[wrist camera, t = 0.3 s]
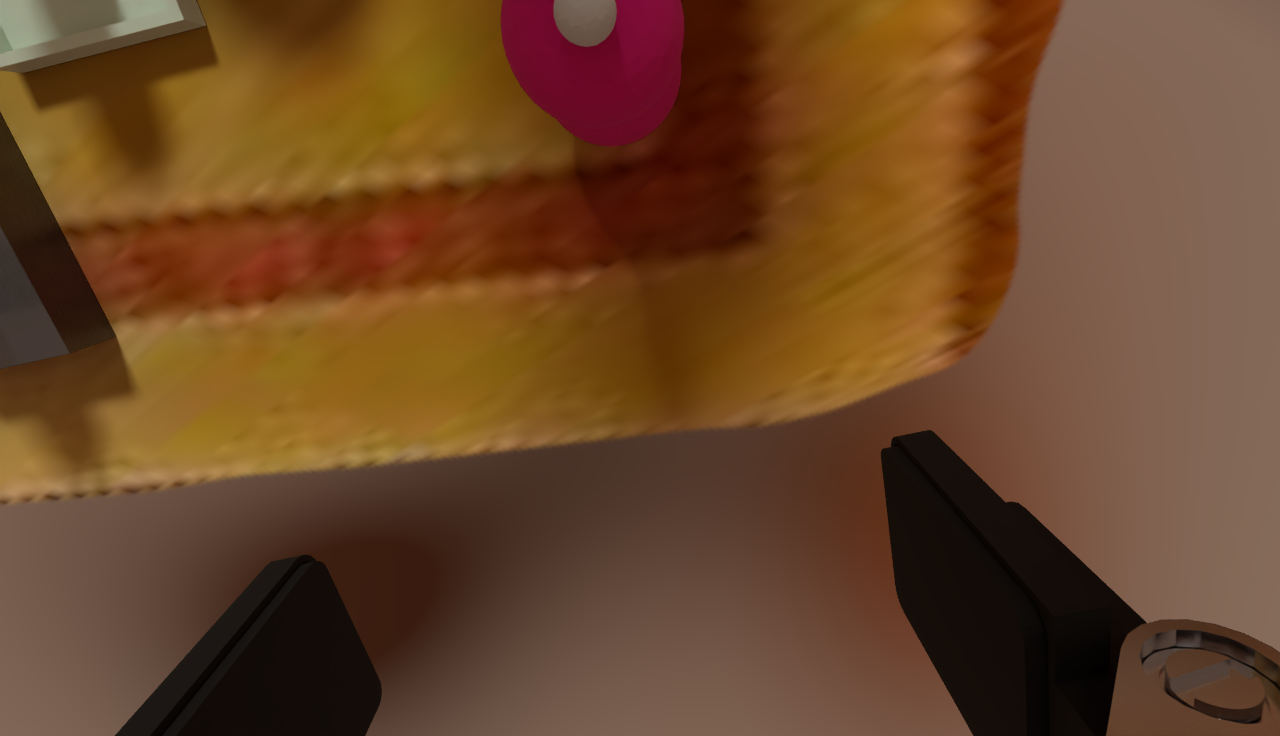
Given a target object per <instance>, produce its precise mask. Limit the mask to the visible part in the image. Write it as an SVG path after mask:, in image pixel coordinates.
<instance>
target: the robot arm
mask: <svg viewBox="0 0 1280 736" xmlns="http://www.w3.org/2000/svg"><path fill="white" fill-rule="evenodd" d="M881 460H882V470H883V479H884V488H885V497H886V506H887V514H888V523H889V533H890V541H891V549H892V559H893V568H894V577H895V586H896V591H897V595H898V599H899V602H900V604H901V607H902V609H903V611H904V613H905V615H906V617H907V618H908V620H909V622H910V624H911V625H912V627H913V629H914V631H915V633H916V634H917V636H918V638H919V640H920V641H921V643H922V645H923V647H924V649H925V650H926V652H927V654H928V656H929V658H930V659H931V661H932V663H933V665H934V666H935V668H936V670H937V672H938V674H939V675H940V677H941V679H942V681H943V682H944V684H945V686H946V688H947V690H948V691H949V693H950V695H951V697H952V698H953V700H954V702H955V704H956V706H957V707H958V709H959V711H960V713H961V714H962V716H963V718H964V720H965V721H966V723H967V725H968V727H969V729H970V730H971V732H972V734H973V736H1280V652H1279V651H1277V650H1276V649H1274V648H1273V647H1272V646H1269V645H1267V644H1265V643H1263V642H1261V641H1259V640H1257V639H1255V638H1253V637H1251V636H1249V635H1247V634H1245V633H1242V632H1239V631H1236V630H1232V629H1229V628H1226V627H1223V626H1220V625H1217V624H1213V623H1207V622H1200V621H1193V620H1188V619H1168V620H1167V619H1166V620H1158V621H1154V622H1150V623H1146V622H1145V621H1144V620H1143V619H1142V618H1141V617H1140V616H1139V615H1138V614H1137V613H1136V612H1135V611H1134V610H1133V609H1131V607H1130V606H1128V605H1127V604H1126V603H1125V602H1124V601H1123V600H1122V599H1121V598H1120V597H1119V596H1118V595H1117V594H1116V593H1115V592H1114V591H1113V590H1112V589H1110V588H1109V587H1108V586H1107V585H1106V584H1105V583H1104V582H1103V581H1102V580H1101V579H1100V578H1099V577H1098V576H1097V575H1096V574H1095V573H1093V572H1092V571H1091V570H1090V569H1089V568H1088V567H1087V566H1086V565H1085V564H1084V563H1083V562H1082V561H1081V560H1080V559H1079V558H1078V557H1077V556H1076V555H1074V554H1073V553H1072V552H1071V551H1070V550H1069V549H1068V548H1067V547H1066V546H1065V545H1064V544H1063V543H1062V542H1061V541H1060V540H1059V539H1057V538H1056V537H1055V536H1054V535H1053V534H1052V533H1051V532H1050V531H1049V530H1048V529H1047V528H1046V527H1045V526H1044V525H1043V524H1042V523H1040V522H1039V521H1038V520H1037V519H1036V518H1035V517H1034V516H1033V515H1032V514H1031V513H1030V512H1029V511H1028V510H1027V509H1026V508H1024V507H1023V506H1022V505H1020V504H1019V503H1016V502H1007V503H1006V502H1005V501H1003V500H1002V499H1001V497H999V496H998V495H997V494H996V493H995V492H994V491H993V490H992V489H991V488H990V487H989V486H988V485H987V484H986V483H985V482H984V481H983V480H982V479H981V478H980V477H979V476H978V475H977V474H976V473H975V472H974V471H973V470H972V469H971V468H970V467H969V466H968V465H967V464H966V463H965V462H963V460H962V459H961V458H960V457H959V456H957V454H956V453H955V452H954V451H952V450H951V448H950V447H948V446H947V445H946V444H945V443H944V442H943V441H942V440H941V439H940V438H939V437H938V436H937V435H936V434H935V433H934V432H933V431H931V430H927V431H922V432H917V433H912V434H907V435H902V436H897V437H894V438H893V439H892V442H891V447H889V448H884V449H882V451H881ZM381 691H382V689H381V683H380V680H379V678H378V676H377V673H376V671H375V669H374V667H373V665H372V663H371V661H370V658H369V656H368V654H367V652H366V650H365V648H364V646H363V644H362V642H361V639H360V637H359V635H358V633H357V631H356V629H355V627H354V625H353V622H352V621H351V618H350V616H349V614H348V612H347V610H346V607H345V605H344V603H343V601H342V599H341V597H340V595H339V593H338V590H337V588H336V586H335V584H334V582H333V580H332V578H331V576H330V574H329V571H328V569H327V568H326V566H325V564H323V563H322V562H320V561H316V560H315V559H314V558H313V557H312V556H310V555H301V556H296V557H291V558H286V559H281V560H276V561H272V562H270V563H269V564H268V565H267V566H266V567H265V568H264V569H263V570H262V571H261V572H260V573H259V574H258V576H257V577H256V578H255V579H254V580H253V581H252V582H251V583H250V585H249V586H248V587H247V588H246V589H245V590H244V591H243V592H242V594H241V595H240V596H239V597H238V598H237V599H236V600H235V601H234V603H233V604H232V605H231V606H230V607H229V608H228V609H227V610H226V611H225V613H224V614H223V615H222V616H221V617H220V618H219V619H218V620H217V622H216V623H215V624H214V625H213V626H212V627H211V628H210V629H209V631H208V632H207V633H206V634H205V635H204V636H203V637H202V638H201V640H200V641H199V642H198V643H197V644H196V645H195V646H194V648H193V649H192V650H191V651H190V652H189V653H188V654H187V655H186V656H185V657H184V659H183V660H182V661H181V662H180V663H179V664H178V665H177V666H176V668H175V669H174V670H173V671H172V672H171V673H170V674H169V675H168V677H167V678H166V679H165V680H164V681H163V682H162V683H161V685H160V686H159V687H158V688H157V689H156V690H155V691H154V692H153V694H152V695H151V696H150V697H149V698H148V699H147V700H146V701H145V702H144V704H143V705H142V706H141V707H140V708H139V709H138V710H137V711H136V712H135V714H134V715H133V716H132V717H131V718H130V719H129V720H128V722H127V723H126V724H125V725H124V726H123V727H122V728H121V729H120V731H119V732H118V733H117V734H116V735H115V736H365V735H366V733H367V730H368V728H369V726H370V724H371V722H372V720H373V718H374V715H375V713H376V711H377V709H378V707H379V704H380V701H381V695H382V692H381Z"/></svg>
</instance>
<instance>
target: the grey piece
mask: <svg viewBox="0 0 1280 736" xmlns="http://www.w3.org/2000/svg"><path fill="white" fill-rule="evenodd" d="M113 337H116V336H115V334H114V332H113V330H112V328H111V326H110V324H109V322H108V320H107V318H106V316H105V314H104V313H103V311H102V309H101V307H100V305H99V303H98V301H97V299H96V297H95V295H94V293H93V291H92V289H91V287H90V285H89V284H88V282H87V280H86V278H85V276H84V274H83V272H82V270H81V268H80V266H79V264H78V262H77V260H76V258H75V256H74V255H73V253H72V251H71V249H70V247H69V245H68V243H67V241H66V239H65V237H64V235H63V233H62V231H61V229H60V227H59V226H58V224H57V222H56V220H55V218H54V216H53V214H52V212H51V210H50V208H49V206H48V204H47V202H46V200H45V198H44V197H43V195H42V193H41V191H40V189H39V187H38V185H37V183H36V181H35V179H34V177H33V175H32V173H31V171H30V169H29V168H28V166H27V164H26V162H25V160H24V158H23V156H22V154H21V152H20V150H19V148H18V146H17V144H16V142H15V140H14V138H13V137H12V135H11V133H10V131H9V129H8V127H7V125H6V123H5V121H4V119H3V117H2V115H1V113H0V369H2V368H6V367H11V366H15V365H20V364H24V363H29V362H33V361H38V360H42V359H47V358H51V357H56V356H60V355H65V354H69V353H72V352H75V351H78V350H81V349H83V348H86V347H89V346H92V345H94V344H97V343H100V342H102V341H105V340H108V339H111V338H113Z"/></svg>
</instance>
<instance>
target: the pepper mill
mask: <svg viewBox="0 0 1280 736" xmlns="http://www.w3.org/2000/svg"><path fill="white" fill-rule="evenodd" d="M501 31H502V41H503V45H504V49H505V53H506V57H507V59H508V62H509V64H510V66H511V69H512V71H513V73H514V75H515V77H516V79H517V80H518V82H519V84H520V86H521V87H522V88H523V90H524V91H525V92H526V93H527V94H528V96H529V97H530V98H531V99H532V100H533V102H534V103H535V104H537V105H538V106H539V107H540V108H542V109H543V110H544V111H546V112H547V113H548V114H550V115H551V116H552V117H554V118H556V119H557V120H558V121H559V123H560V124H561V125H562V126H563V127H564V128H565V129H567V130H568V131H569V132H570V133H572V134H573V135H574V136H576V137H578V138H580V139H582V140H584V141H586V142H589V143H592V144H596V145H600V146H622V145H626V144H630V143H633V142H635V141H638V140H640V139H642V138H644V137H645V136H647V135H649V134H650V133H651V132H653V131H654V130H655V129H656V128H657V127H658V126H659V125H660V124H661V123H662V122H663V121H664V119H665V118H666V117H667V115H668V114H669V112H670V110H671V109H672V107H673V105H674V102H675V100H676V97H677V95H678V91H679V87H680V82H681V70H682V66H681V53H682V49H683V40H684V15H683V9H682V3H681V0H503V3H502V10H501Z"/></svg>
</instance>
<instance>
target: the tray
mask: <svg viewBox="0 0 1280 736" xmlns="http://www.w3.org/2000/svg"><path fill="white" fill-rule="evenodd" d="M203 26H206V24H205V21H204V18H203V16H202V13H201V11H200V8H199V6H198V3H197V1H196V0H0V70H1V71H10V72H18V73H25V72H29V71H33V70H37V69H41V68H44V67H48V66H52V65H56V64H60V63H64V62H68V61H72V60H75V59H79V58H83V57H87V56H91V55H95V54H99V53H103V52H106V51H110V50H114V49H118V48H122V47H126V46H130V45H134V44H137V43H141V42H145V41H149V40H153V39H157V38H161V37H165V36H168V35H172V34H176V33H180V32H184V31H188V30H192V29H196V28H199V27H203Z"/></svg>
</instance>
